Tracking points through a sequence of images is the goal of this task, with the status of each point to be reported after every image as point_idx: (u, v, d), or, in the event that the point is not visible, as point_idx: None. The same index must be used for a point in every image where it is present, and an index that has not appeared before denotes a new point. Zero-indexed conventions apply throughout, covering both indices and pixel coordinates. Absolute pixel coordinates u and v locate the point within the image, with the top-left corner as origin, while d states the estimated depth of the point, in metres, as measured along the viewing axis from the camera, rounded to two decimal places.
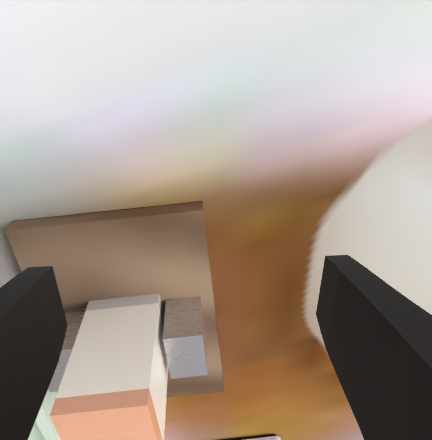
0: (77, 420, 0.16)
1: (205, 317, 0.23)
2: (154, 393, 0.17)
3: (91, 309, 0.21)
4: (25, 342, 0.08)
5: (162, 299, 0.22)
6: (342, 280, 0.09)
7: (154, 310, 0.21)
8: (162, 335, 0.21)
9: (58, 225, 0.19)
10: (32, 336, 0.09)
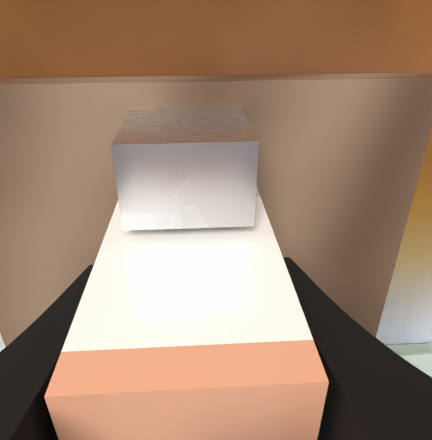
0: None
1: (192, 104, 0.10)
2: (138, 322, 0.07)
3: None
4: None
5: None
6: None
7: None
8: None
9: None
10: None
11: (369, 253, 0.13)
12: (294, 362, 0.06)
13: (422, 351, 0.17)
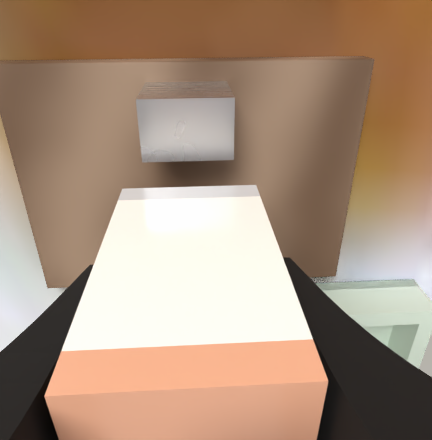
0: None
1: (190, 78, 0.14)
2: (138, 321, 0.07)
3: None
4: None
5: None
6: None
7: None
8: (180, 209, 0.10)
9: None
10: None
11: (327, 197, 0.17)
12: (294, 361, 0.06)
13: (377, 286, 0.20)
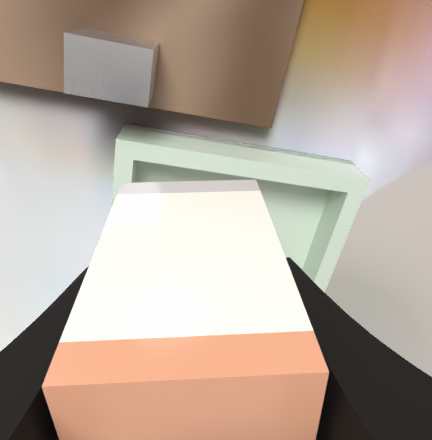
0: None
1: None
2: (137, 313, 0.07)
3: None
4: None
5: None
6: None
7: None
8: (179, 203, 0.10)
9: None
10: None
11: (273, 21, 0.16)
12: (294, 353, 0.06)
13: (313, 157, 0.19)
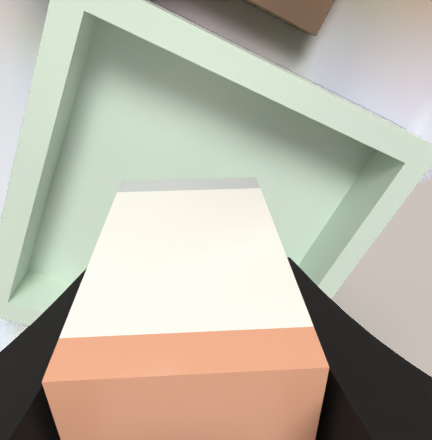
0: None
1: None
2: (137, 309, 0.07)
3: None
4: None
5: None
6: None
7: None
8: (179, 201, 0.10)
9: None
10: None
11: None
12: (294, 348, 0.06)
13: (357, 106, 0.13)
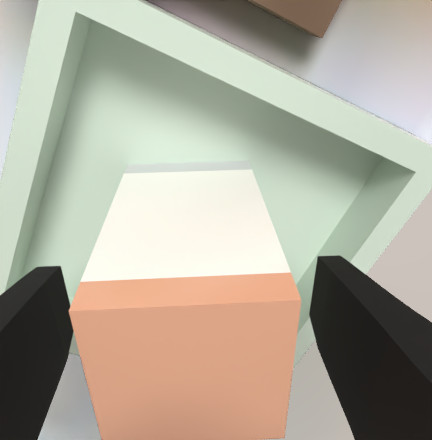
0: (120, 419, 0.08)
1: None
2: (144, 261, 0.08)
3: None
4: (35, 341, 0.08)
5: None
6: (333, 280, 0.09)
7: None
8: (179, 180, 0.11)
9: None
10: (41, 336, 0.09)
11: None
12: (274, 287, 0.07)
13: (364, 111, 0.12)
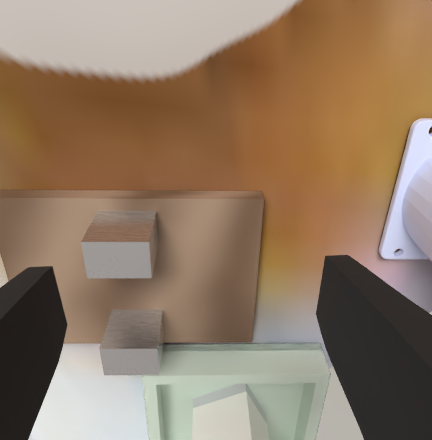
0: None
1: (130, 209, 0.20)
2: None
3: None
4: (25, 342, 0.08)
5: None
6: (342, 280, 0.09)
7: None
8: (216, 410, 0.26)
9: None
10: (32, 336, 0.09)
11: (238, 287, 0.22)
12: None
13: (289, 348, 0.26)
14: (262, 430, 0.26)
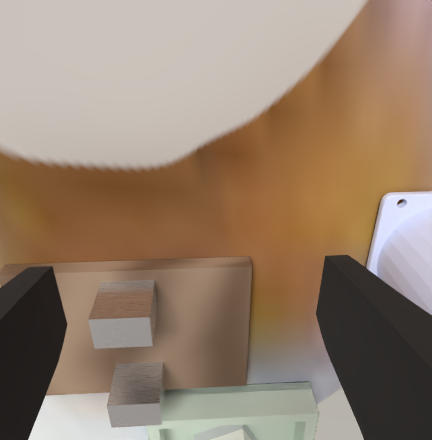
0: None
1: (130, 279, 0.22)
2: None
3: None
4: (25, 342, 0.08)
5: None
6: (342, 280, 0.09)
7: None
8: None
9: None
10: (32, 336, 0.09)
11: (232, 340, 0.24)
12: None
13: (280, 388, 0.28)
14: None
